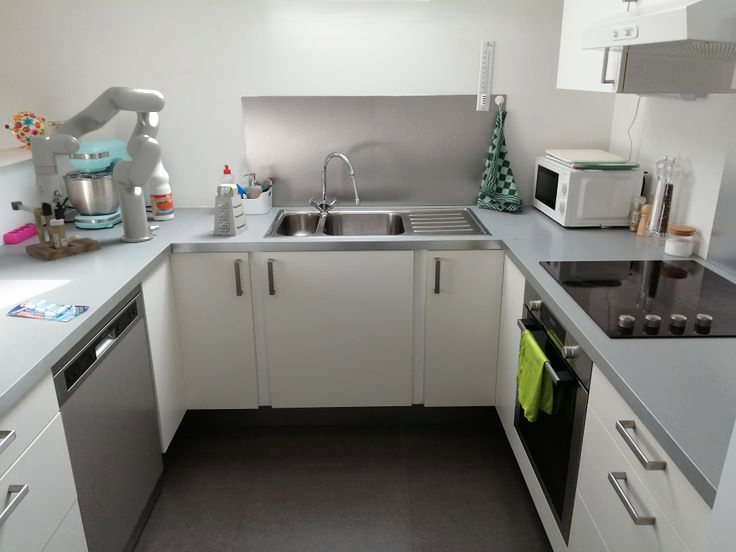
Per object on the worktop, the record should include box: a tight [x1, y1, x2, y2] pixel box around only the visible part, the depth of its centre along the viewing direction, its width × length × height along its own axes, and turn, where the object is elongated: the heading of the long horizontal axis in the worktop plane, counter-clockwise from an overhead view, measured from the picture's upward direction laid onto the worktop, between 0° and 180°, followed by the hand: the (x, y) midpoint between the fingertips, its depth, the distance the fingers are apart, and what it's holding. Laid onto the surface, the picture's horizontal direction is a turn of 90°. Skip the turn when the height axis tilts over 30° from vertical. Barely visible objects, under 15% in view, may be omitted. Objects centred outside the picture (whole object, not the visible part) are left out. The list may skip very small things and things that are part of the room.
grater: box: [213, 183, 249, 237], centre depth 247 cm, size 10×10×20 cm
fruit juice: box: [148, 157, 175, 221], centre depth 270 cm, size 9×9×28 cm
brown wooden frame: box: [24, 206, 101, 262], centre depth 223 cm, size 20×17×16 cm
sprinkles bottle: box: [50, 218, 68, 250], centre depth 220 cm, size 5×5×14 cm
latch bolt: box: [10, 200, 44, 217], centre depth 230 cm, size 3×26×3 cm, turn 52°
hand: (54, 217), depth 217 cm, fingers open, 9 cm apart
